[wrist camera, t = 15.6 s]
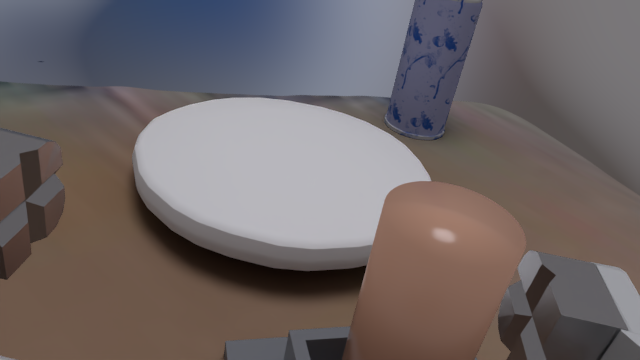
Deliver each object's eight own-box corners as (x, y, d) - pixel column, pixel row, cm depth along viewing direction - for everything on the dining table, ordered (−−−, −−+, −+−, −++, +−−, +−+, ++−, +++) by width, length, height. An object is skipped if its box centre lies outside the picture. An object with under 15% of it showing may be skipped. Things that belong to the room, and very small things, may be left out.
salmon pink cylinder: (343, 485, 26) (415, 270, 19) (316, 382, 31) (365, 180, 24) (452, 468, 28) (555, 264, 21) (410, 373, 33) (482, 181, 26)
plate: (97, 96, 51) (329, 82, 65) (101, 158, 54) (322, 132, 68) (207, 245, 30) (513, 178, 44) (205, 334, 33) (493, 244, 47)
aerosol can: (455, 139, 67) (509, -26, 57) (401, 140, 64) (448, -34, 54) (424, 112, 74) (469, -41, 63) (374, 112, 71) (411, -49, 60)
